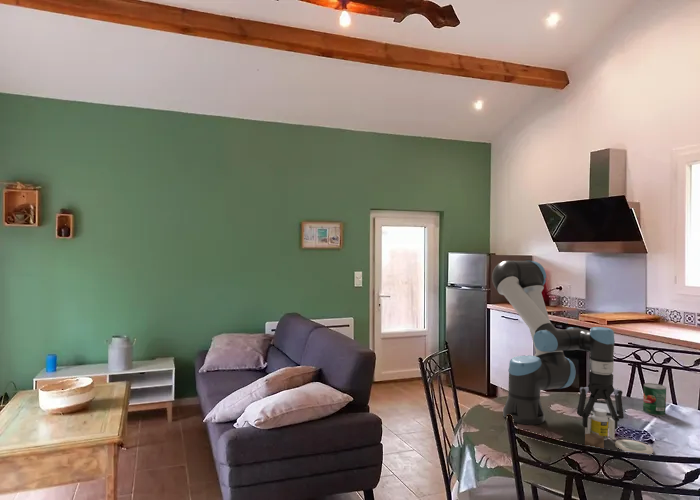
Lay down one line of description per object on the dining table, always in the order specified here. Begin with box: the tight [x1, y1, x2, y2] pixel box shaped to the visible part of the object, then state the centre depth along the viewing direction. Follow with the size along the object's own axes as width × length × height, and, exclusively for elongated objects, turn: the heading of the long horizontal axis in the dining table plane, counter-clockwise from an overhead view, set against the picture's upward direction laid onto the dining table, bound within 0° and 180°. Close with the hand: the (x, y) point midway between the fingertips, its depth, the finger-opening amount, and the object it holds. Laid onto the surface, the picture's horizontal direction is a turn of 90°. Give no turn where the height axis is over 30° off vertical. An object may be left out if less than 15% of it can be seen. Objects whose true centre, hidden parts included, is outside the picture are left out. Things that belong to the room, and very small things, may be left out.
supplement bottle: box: [590, 408, 609, 441], centre depth 172 cm, size 5×5×10 cm
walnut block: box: [584, 432, 605, 449], centre depth 164 cm, size 4×4×4 cm
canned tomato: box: [642, 382, 667, 417], centre depth 200 cm, size 8×8×11 cm
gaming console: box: [586, 399, 612, 420], centre depth 200 cm, size 19×9×3 cm, turn 161°
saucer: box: [614, 439, 654, 455], centre depth 164 cm, size 11×11×1 cm
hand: (599, 437), depth 172 cm, fingers open, 7 cm apart
